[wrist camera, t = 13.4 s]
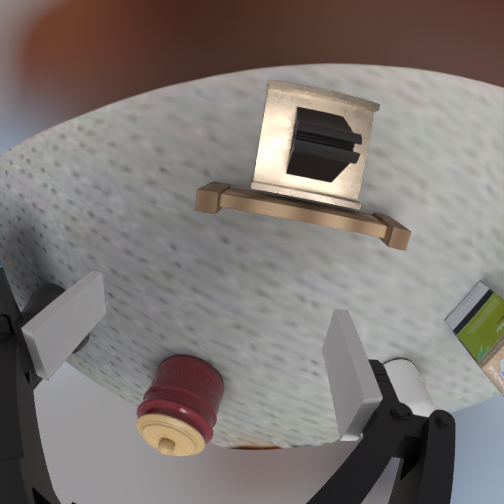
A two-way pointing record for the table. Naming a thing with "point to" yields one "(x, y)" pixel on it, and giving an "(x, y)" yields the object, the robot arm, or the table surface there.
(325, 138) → the phone stand
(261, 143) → the keeper plate
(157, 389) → the canister
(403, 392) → the wine bottle
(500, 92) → the table surface
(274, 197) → the door pull handle
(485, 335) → the tea box
